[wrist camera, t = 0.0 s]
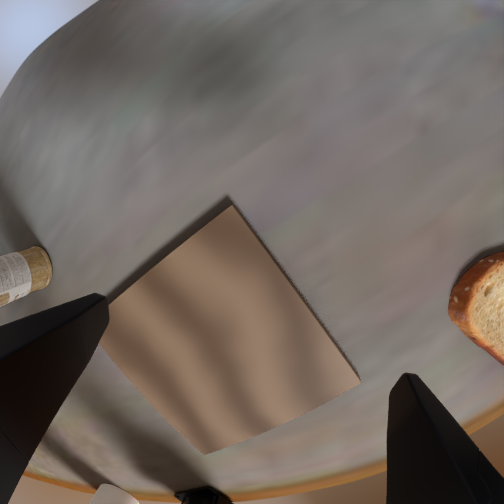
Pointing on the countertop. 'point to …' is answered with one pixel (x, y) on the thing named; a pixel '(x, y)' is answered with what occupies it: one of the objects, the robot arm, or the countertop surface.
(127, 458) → the countertop surface
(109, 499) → the cylindrical container
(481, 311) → the slice of bread
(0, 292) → the sprinkles bottle
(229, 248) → the walnut board
